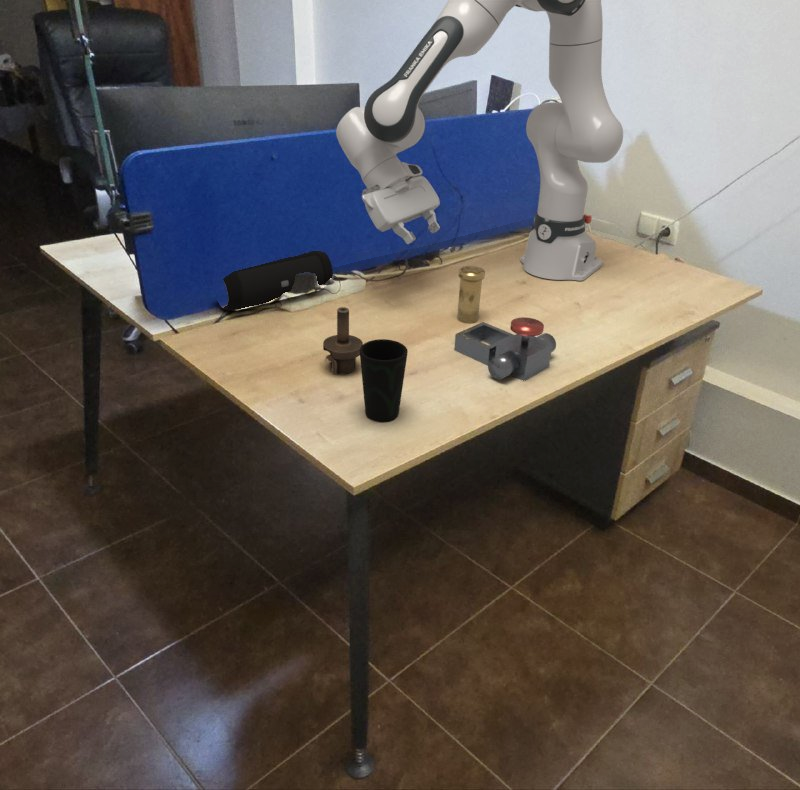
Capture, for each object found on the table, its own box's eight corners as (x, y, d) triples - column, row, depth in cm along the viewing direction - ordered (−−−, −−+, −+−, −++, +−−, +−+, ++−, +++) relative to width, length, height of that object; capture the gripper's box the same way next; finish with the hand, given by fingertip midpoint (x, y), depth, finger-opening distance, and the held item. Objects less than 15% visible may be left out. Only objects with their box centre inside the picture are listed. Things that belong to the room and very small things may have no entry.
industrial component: (332, 381, 127) (331, 321, 120) (315, 364, 132) (314, 305, 126) (378, 370, 131) (379, 311, 125) (360, 354, 136) (360, 296, 130)
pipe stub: (466, 311, 155) (470, 264, 149) (485, 319, 152) (490, 271, 146) (449, 318, 152) (453, 270, 146) (469, 326, 148) (473, 277, 143)
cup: (351, 419, 116) (351, 355, 110) (369, 397, 122) (370, 335, 116) (395, 430, 114) (397, 364, 108) (411, 407, 120) (414, 344, 114)
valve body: (492, 332, 146) (497, 291, 142) (560, 360, 137) (567, 318, 132) (441, 355, 137) (444, 313, 132) (510, 388, 127) (516, 343, 122)
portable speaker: (232, 321, 147) (228, 276, 142) (212, 304, 154) (207, 261, 148) (335, 295, 161) (334, 253, 156) (312, 281, 167) (311, 240, 162)
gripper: (367, 182, 139) (405, 240, 140) (423, 164, 154) (458, 217, 154) (349, 200, 144) (386, 256, 144) (406, 181, 158) (439, 232, 159)
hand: (424, 236), depth 149 cm, fingers open, 8 cm apart
